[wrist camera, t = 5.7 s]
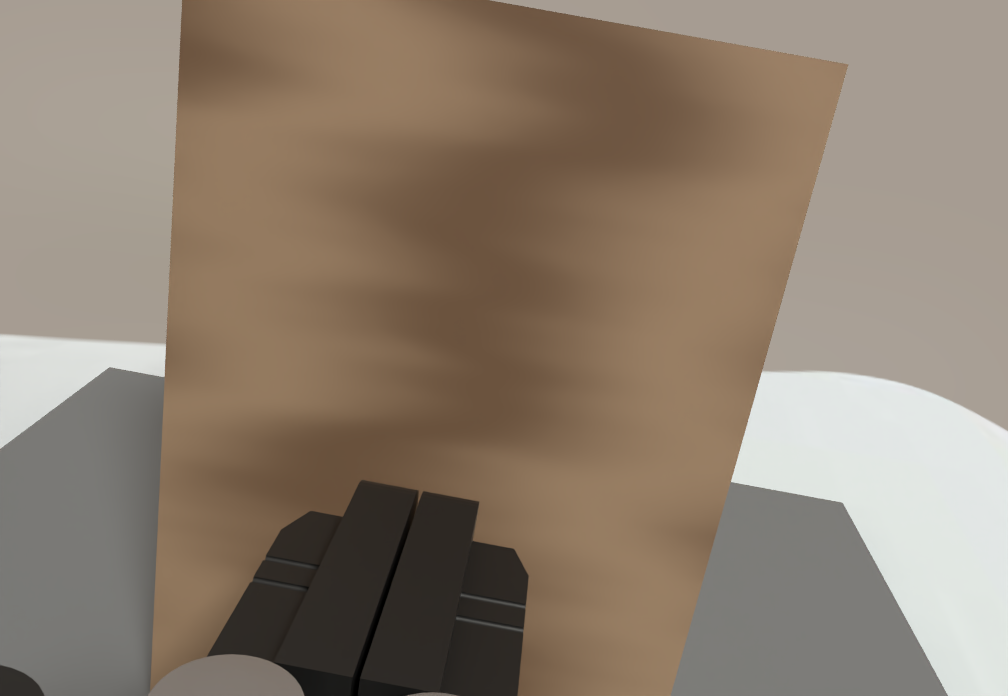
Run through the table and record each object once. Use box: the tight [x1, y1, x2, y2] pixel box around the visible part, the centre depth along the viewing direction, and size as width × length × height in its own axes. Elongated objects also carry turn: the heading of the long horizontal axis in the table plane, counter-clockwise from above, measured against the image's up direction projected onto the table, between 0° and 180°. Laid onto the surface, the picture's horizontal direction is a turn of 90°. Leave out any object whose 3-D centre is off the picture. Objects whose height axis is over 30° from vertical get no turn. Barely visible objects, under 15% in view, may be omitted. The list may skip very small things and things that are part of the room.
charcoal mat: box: [0, 367, 948, 696], centre depth 23 cm, size 24×16×1 cm, turn 86°
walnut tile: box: [150, 0, 848, 696], centre depth 16 cm, size 9×2×13 cm, turn 86°
